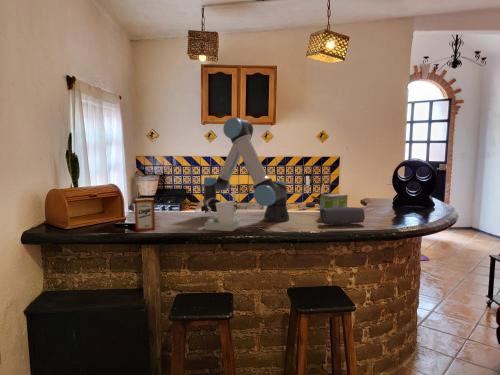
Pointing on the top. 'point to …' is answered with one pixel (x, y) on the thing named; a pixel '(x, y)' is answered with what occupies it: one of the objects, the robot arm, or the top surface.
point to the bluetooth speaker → (342, 215)
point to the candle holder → (225, 212)
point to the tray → (221, 225)
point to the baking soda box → (144, 214)
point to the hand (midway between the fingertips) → (223, 210)
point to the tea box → (332, 201)
